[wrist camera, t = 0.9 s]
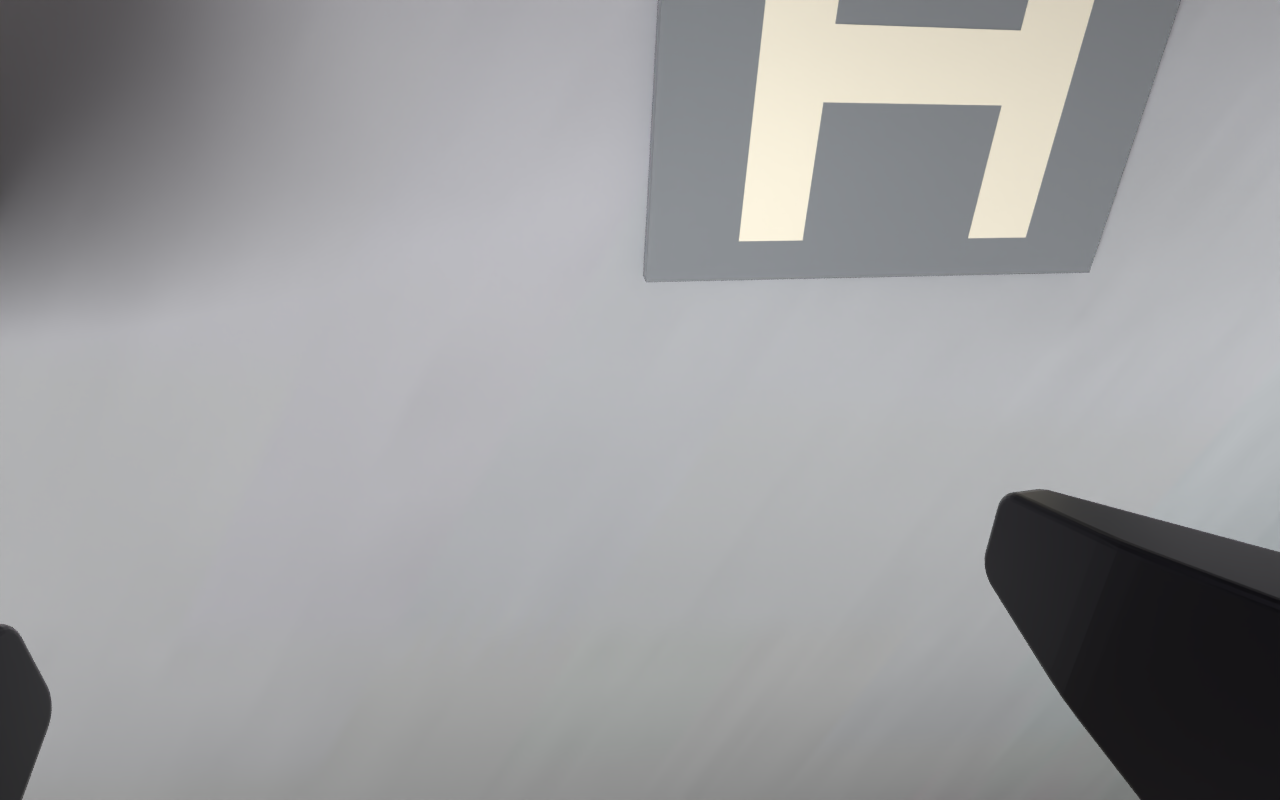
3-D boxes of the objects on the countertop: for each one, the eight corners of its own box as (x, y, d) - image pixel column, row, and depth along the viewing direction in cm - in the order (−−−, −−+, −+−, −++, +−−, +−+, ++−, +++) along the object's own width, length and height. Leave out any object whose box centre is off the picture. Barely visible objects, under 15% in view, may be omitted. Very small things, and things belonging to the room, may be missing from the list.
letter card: (643, 276, 20) (646, 282, 20) (670, -235, 15) (674, -239, 15) (1079, 267, 22) (1089, 272, 22) (1228, -184, 17) (1244, -186, 17)
